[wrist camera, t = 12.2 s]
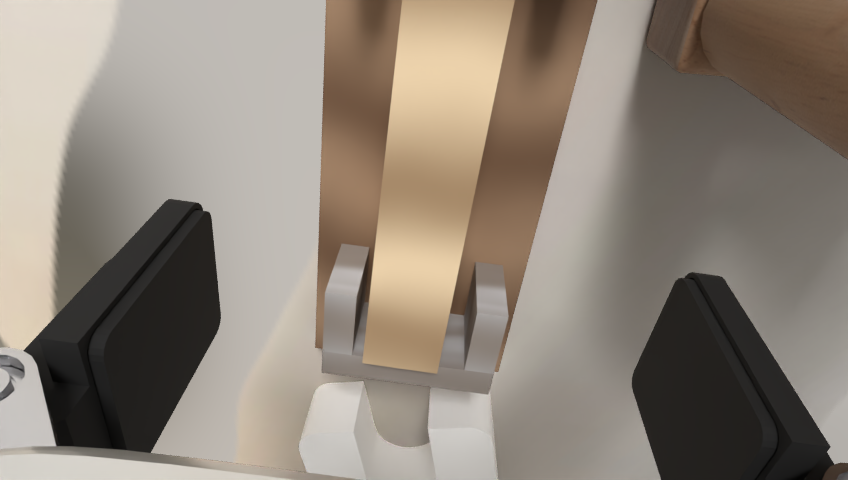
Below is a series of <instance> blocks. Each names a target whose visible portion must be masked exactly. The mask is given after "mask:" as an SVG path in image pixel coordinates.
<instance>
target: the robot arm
mask: <svg viewBox="0 0 848 480" xmlns="http://www.w3.org/2000/svg"><path fill="white" fill-rule="evenodd" d="M220 319H221V312H220V302H219V292H218V281H217V271H216V261H215V251H214V240H213V230H212V219H211V215H210V213H209V212H207V211H203V208H202V206H201V205H200V204H199V203H194V202H188V201H181V200H173V199H168V200H167V201H166V202H165V203H164V204H163V205H162V206H161V207H160V208H159V209H158V210H157V211H156V212H155V213H154V214H153V216H152V217H151V218H150V219H149V220H148V221H147V222H146V223H145V224H144V225H143V226H142V227H141V228H140V230H139V231H138V232H137V233H136V234H135V235H134V236H133V237H132V238H131V239H130V240H129V241H128V243H126V244H125V246H124V247H123V248H122V249H121V250H120V251H119V252H118V253H117V254H116V255H115V256H114V257H113V258H112V259H111V260H109V261H108V262H107V263H106V264H105V265H104V266H103V267H102V268H101V269H100V270H99V271H98V272H97V273H96V274H95V275H94V276H93V277H92V278H91V280H89V282H88V283H87V284H86V285H85V286H84V287H83V288H82V289H81V290H80V291H79V292H78V293H77V294H76V295H75V296H74V298H73V299H72V300H71V301H70V302H69V303H68V304H67V305H66V306H65V307H64V308H63V309H62V310H61V311H60V312H59V313H58V315H57V316H56V317H55V318H54V319H53V320H52V321H51V322H50V323H49V324H48V325H47V326H46V327H45V328H44V329H43V330H42V332H41V333H40V334H39V335H38V336H37V337H36V338H35V339H34V340H33V341H32V342H31V343H30V344H29V345H28V346H27V347H26V349H25V350H24V351H22V350H18V349H13V348H0V480H361V479H353V478H346V477H338V476H330V475H323V474H315V473H307V472H300V471H292V470H284V469H277V468H269V467H261V466H254V465H246V464H238V463H231V462H223V461H215V460H206V459H198V458H189V457H180V456H172V455H163V454H153V453H151V451H152V449H153V447H154V446H155V444H156V442H157V440H158V438H159V437H160V435H161V433H162V431H163V429H164V427H165V426H166V424H167V422H168V420H169V419H170V417H171V415H172V413H173V411H174V409H175V408H176V406H177V404H178V402H179V400H180V399H181V397H182V395H183V393H184V391H185V390H186V388H187V386H188V384H189V382H190V380H191V379H192V377H193V375H194V373H195V371H196V370H197V368H198V366H199V364H200V362H201V361H202V359H203V357H204V355H205V353H206V351H207V350H208V348H209V346H210V344H211V342H212V341H213V339H214V337H215V335H216V333H217V331H218V329H219V325H220ZM632 389H633V393H634V396H635V399H636V402H637V405H638V408H639V411H640V414H641V418H642V421H643V424H644V427H645V430H646V433H647V436H648V440H649V443H650V446H651V449H652V452H653V455H654V458H655V461H656V465H657V468H658V471H659V474H660V477H661V480H848V463H838V464H835V465H834V463H833V461H832V460H831V458H830V457H829V455H828V453H827V451H828V449H829V448H830V445H829V444H828V443H827V441H826V439H825V438H824V436H823V434H822V433H821V431H820V430H819V428H818V426H817V425H816V423H815V422H814V420H813V419H812V417H811V415H810V414H809V412H808V411H807V409H806V408H805V406H804V404H803V403H802V401H801V400H800V398H799V396H798V395H797V393H796V392H795V390H794V389H793V387H792V385H791V384H790V382H789V381H788V379H787V378H786V376H785V374H784V373H783V371H782V370H781V368H780V367H779V365H778V363H777V362H776V360H775V359H774V357H773V355H772V354H771V352H770V351H769V349H768V348H767V346H766V344H765V343H764V341H763V340H762V338H761V337H760V335H759V333H758V332H757V330H756V329H755V327H754V326H753V324H752V322H751V321H750V319H749V318H748V316H747V314H746V313H745V311H744V310H743V308H742V307H741V305H740V303H739V302H738V300H737V299H736V297H735V296H734V294H733V292H732V291H731V289H730V288H729V286H728V285H727V283H726V281H725V280H724V279H723V278H722V277H720V276H714V275H707V274H700V273H693V272H692V273H689V274H688V275H686V276H685V278H679V279H678V280H677V281H676V282H675V284H674V286H673V288H672V290H671V292H670V294H669V297H668V299H667V301H666V303H665V305H664V307H663V310H662V312H661V314H660V316H659V318H658V320H657V323H656V325H655V327H654V329H653V331H652V333H651V336H650V338H649V340H648V342H647V344H646V346H645V349H644V351H643V353H642V355H641V357H640V359H639V362H638V364H637V366H636V368H635V370H634V373H633V377H632Z"/></svg>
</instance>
